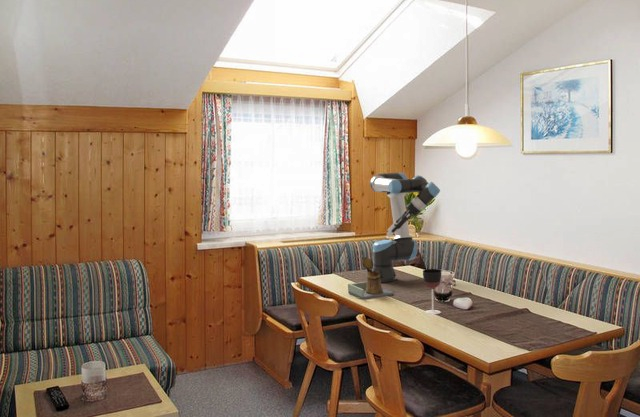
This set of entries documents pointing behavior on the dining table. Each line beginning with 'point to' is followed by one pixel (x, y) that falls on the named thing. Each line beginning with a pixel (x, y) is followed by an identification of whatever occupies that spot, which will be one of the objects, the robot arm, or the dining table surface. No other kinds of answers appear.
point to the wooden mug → (372, 278)
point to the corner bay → (360, 291)
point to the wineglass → (432, 284)
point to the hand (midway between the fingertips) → (388, 233)
